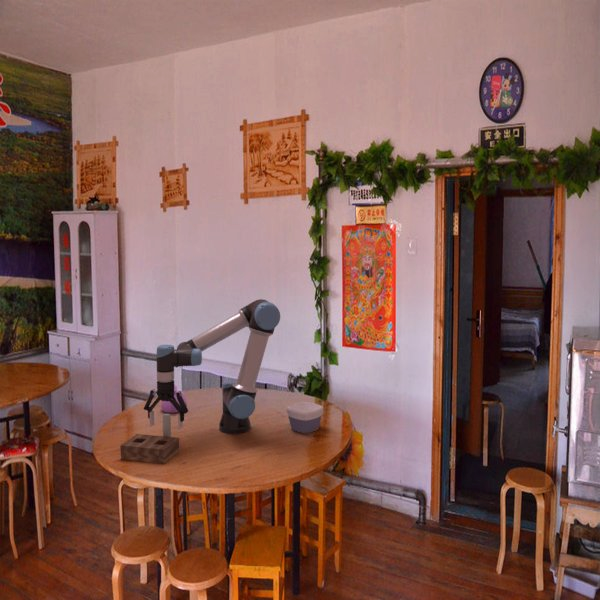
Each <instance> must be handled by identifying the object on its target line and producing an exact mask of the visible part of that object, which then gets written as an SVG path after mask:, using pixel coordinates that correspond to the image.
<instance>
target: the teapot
mask: <svg viewBox="0 0 600 600" xmlns="http://www.w3.org/2000/svg"><path fill="white" fill-rule="evenodd" d="M177 388H178V386H177V385H176V384H174V391H175V392H179V391H181V390H178V389H177ZM181 395H182V398H183V400H184V402H185V404H186V407H187V408H188V401H187V398H186V396H185V394H184V392H183V391H181ZM174 397H175V399H176V401H177V402H178V400H177V397H176V396H175V395H174ZM160 403H161V405H160V406H161V407H160V408H161V410H162V412H163V413H165V414H171V413H172V414H175V413H179V412H178V411H177V410H176V408H175V407H174V406H173V404H172V403H170V401H168V402H167V401H161V402H160ZM178 404H179V402H178ZM179 405H180V404H179Z"/></svg>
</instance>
